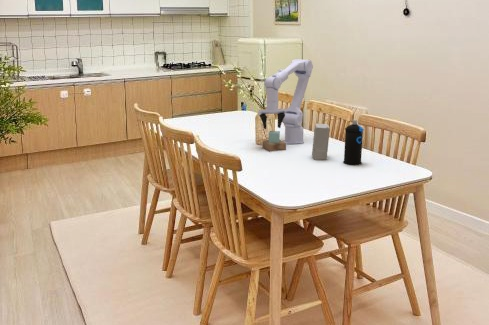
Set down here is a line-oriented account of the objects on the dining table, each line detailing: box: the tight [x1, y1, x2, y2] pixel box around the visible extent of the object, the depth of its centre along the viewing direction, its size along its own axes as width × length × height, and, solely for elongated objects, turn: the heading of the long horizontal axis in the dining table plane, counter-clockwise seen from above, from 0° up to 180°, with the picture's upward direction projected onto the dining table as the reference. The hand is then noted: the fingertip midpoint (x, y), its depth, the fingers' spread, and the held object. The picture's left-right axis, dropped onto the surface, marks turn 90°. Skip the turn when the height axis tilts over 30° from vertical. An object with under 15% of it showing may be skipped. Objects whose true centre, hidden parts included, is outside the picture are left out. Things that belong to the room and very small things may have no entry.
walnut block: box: [262, 139, 287, 153], centre depth 266 cm, size 9×9×4 cm
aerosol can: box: [342, 119, 365, 166], centre depth 238 cm, size 8×8×20 cm
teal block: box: [268, 130, 281, 143], centre depth 265 cm, size 5×5×5 cm
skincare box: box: [311, 123, 331, 161], centre depth 247 cm, size 8×7×16 cm
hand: (272, 128), depth 265 cm, fingers open, 7 cm apart
